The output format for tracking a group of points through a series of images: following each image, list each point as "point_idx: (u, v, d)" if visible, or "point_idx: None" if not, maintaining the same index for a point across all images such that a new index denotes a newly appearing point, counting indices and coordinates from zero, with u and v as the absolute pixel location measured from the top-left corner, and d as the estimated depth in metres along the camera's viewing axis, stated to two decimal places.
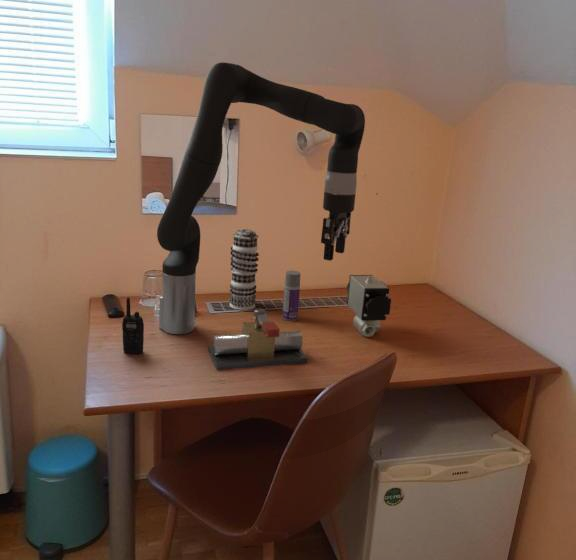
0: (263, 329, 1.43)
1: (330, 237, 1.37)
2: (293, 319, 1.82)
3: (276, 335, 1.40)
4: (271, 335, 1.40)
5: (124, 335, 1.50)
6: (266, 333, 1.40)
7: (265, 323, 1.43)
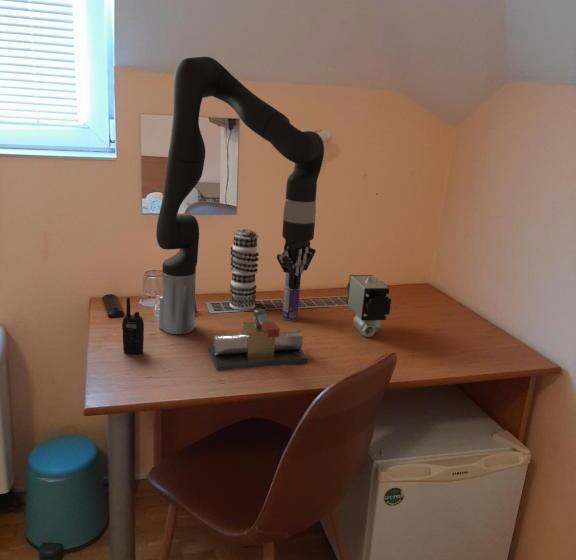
0: (263, 329, 1.43)
1: None
2: (293, 319, 1.82)
3: (276, 335, 1.40)
4: (271, 335, 1.40)
5: (124, 335, 1.50)
6: (266, 333, 1.40)
7: (265, 323, 1.43)
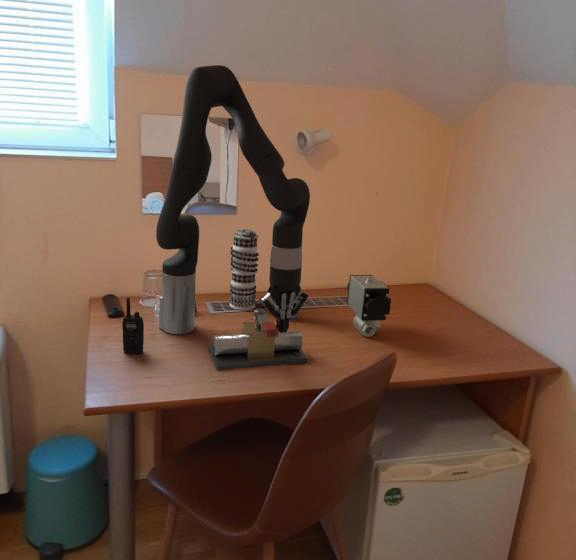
0: (262, 329, 1.43)
1: None
2: (293, 319, 1.82)
3: (275, 335, 1.40)
4: (270, 335, 1.40)
5: (124, 335, 1.50)
6: (265, 333, 1.40)
7: (264, 323, 1.43)
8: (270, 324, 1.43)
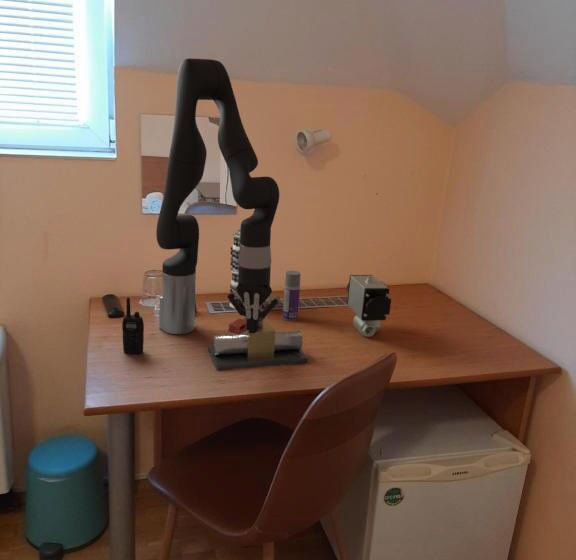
0: None
1: None
2: (293, 319, 1.82)
3: (236, 332, 1.40)
4: (232, 331, 1.41)
5: (124, 335, 1.50)
6: None
7: (239, 320, 1.44)
8: (242, 322, 1.43)
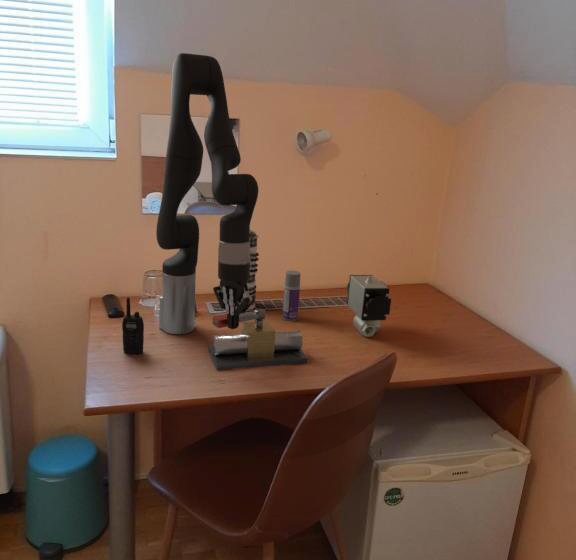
0: None
1: (246, 309, 1.40)
2: (293, 319, 1.82)
3: (217, 325, 1.44)
4: (214, 323, 1.45)
5: (124, 335, 1.50)
6: None
7: None
8: None
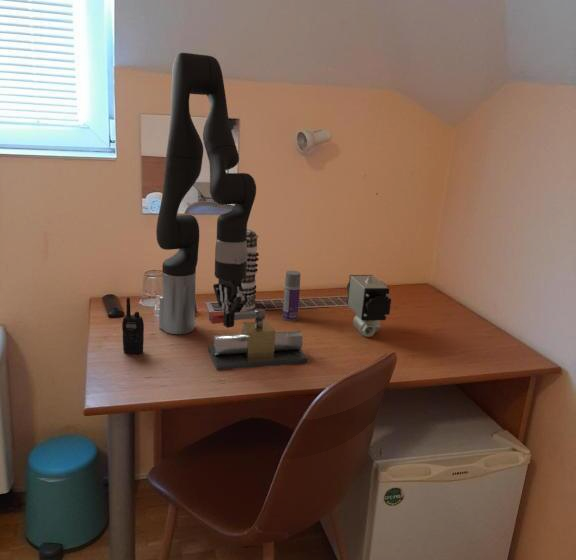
0: None
1: (240, 308, 1.40)
2: (293, 319, 1.82)
3: (211, 321, 1.46)
4: (210, 319, 1.48)
5: (124, 335, 1.50)
6: None
7: None
8: (223, 313, 1.48)
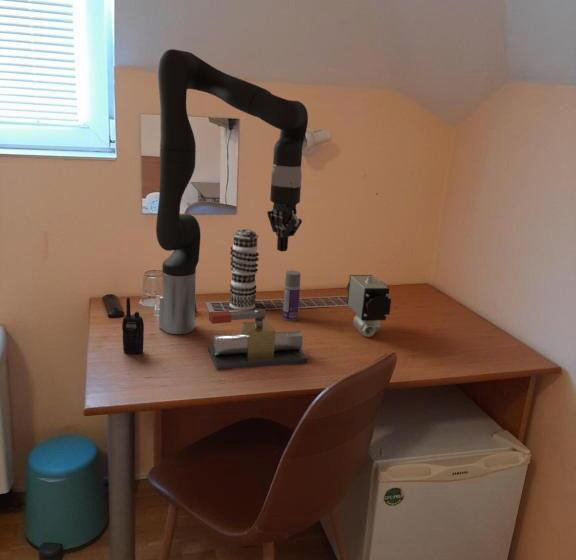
0: None
1: (294, 232, 1.48)
2: (293, 319, 1.82)
3: (211, 321, 1.46)
4: (210, 319, 1.48)
5: (124, 335, 1.50)
6: None
7: (225, 311, 1.49)
8: (223, 313, 1.48)
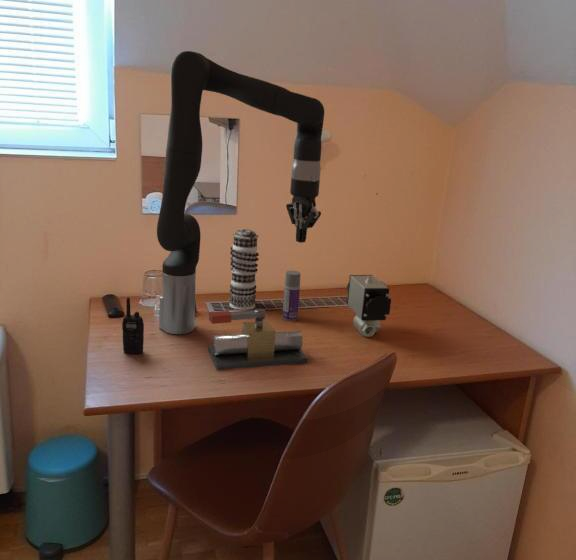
0: None
1: (313, 224, 1.55)
2: (293, 319, 1.82)
3: (211, 321, 1.46)
4: (210, 319, 1.48)
5: (124, 335, 1.50)
6: None
7: (225, 311, 1.49)
8: (223, 313, 1.48)
